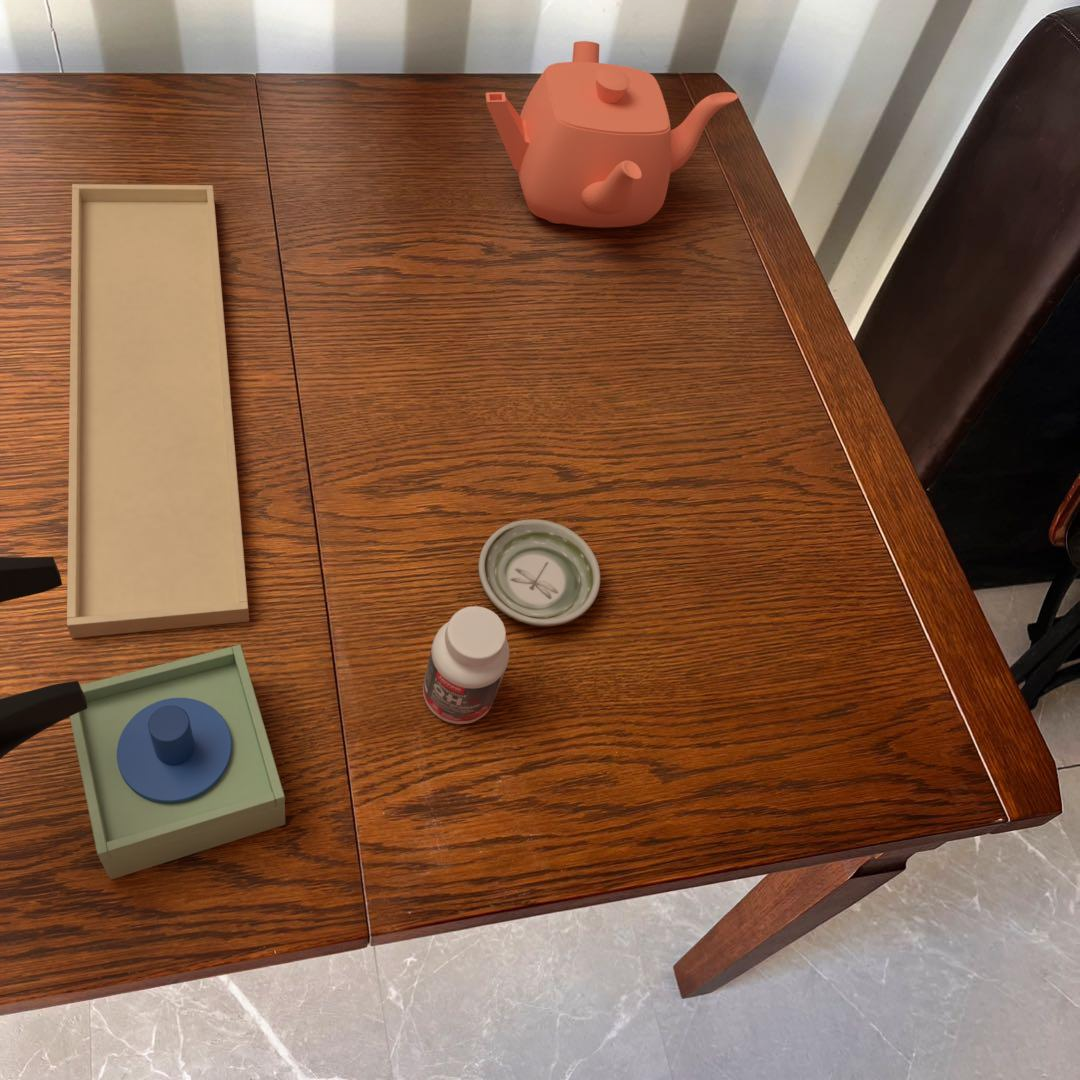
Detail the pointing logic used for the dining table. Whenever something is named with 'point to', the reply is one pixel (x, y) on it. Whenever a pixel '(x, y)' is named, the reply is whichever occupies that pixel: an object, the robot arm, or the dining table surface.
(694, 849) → the dining table surface
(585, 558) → the saucer
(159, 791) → the blue lid
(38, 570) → the robot arm
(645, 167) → the teapot
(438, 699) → the pill bottle
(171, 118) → the dining table surface
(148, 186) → the tray
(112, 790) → the green square tray
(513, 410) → the dining table surface
